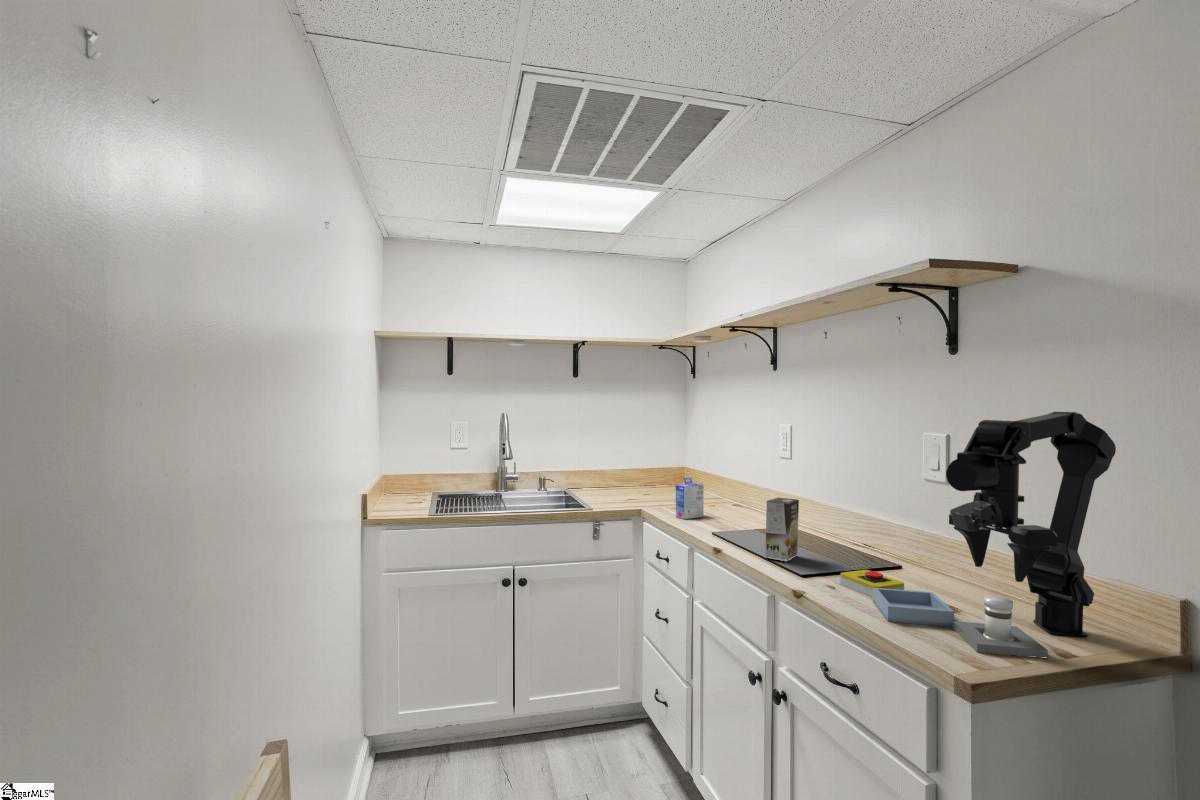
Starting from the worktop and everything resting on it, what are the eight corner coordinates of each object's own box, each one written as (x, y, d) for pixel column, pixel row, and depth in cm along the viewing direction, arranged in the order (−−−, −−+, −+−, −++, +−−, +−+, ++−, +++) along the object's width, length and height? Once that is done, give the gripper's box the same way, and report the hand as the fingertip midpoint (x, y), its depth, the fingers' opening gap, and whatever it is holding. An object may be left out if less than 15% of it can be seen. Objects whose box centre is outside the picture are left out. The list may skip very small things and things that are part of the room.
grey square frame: (1016, 634, 113) (1016, 626, 113) (1047, 658, 102) (1047, 650, 102) (952, 628, 115) (953, 620, 115) (976, 652, 104) (977, 643, 104)
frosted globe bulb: (1005, 639, 110) (1006, 596, 110) (1016, 649, 106) (1017, 604, 106) (978, 637, 111) (979, 594, 111) (989, 646, 107) (990, 602, 107)
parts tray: (932, 606, 128) (932, 592, 128) (953, 626, 116) (954, 611, 116) (872, 601, 130) (872, 587, 130) (887, 621, 118) (887, 606, 118)
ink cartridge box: (694, 514, 225) (694, 476, 225) (704, 517, 220) (705, 478, 220) (674, 517, 219) (675, 478, 219) (684, 519, 215) (685, 479, 214)
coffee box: (787, 563, 159) (788, 503, 159) (764, 559, 163) (765, 500, 163) (798, 556, 167) (799, 499, 167) (775, 552, 171) (776, 496, 171)
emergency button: (881, 583, 130) (831, 565, 144) (881, 603, 130) (831, 583, 144) (912, 579, 134) (860, 562, 148) (912, 598, 134) (860, 579, 148)
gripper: (924, 481, 117) (923, 560, 117) (1001, 497, 98) (999, 592, 98) (975, 481, 118) (974, 559, 118) (1060, 497, 100) (1059, 589, 100)
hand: (998, 573), depth 109 cm, fingers open, 9 cm apart
